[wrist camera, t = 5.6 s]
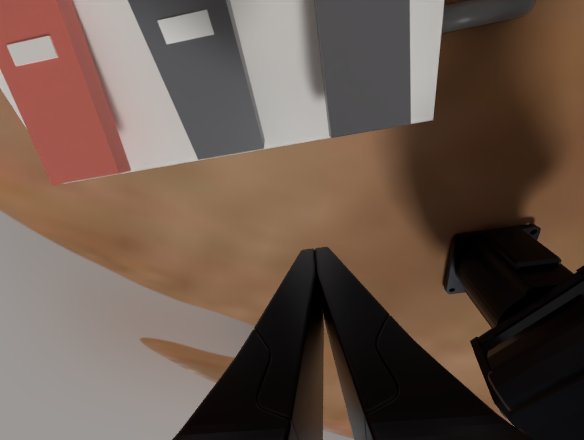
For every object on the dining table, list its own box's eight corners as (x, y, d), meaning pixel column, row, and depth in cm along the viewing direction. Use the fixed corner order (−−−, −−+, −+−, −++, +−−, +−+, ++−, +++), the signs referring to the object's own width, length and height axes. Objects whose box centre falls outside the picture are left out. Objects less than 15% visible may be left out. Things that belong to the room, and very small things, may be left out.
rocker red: (131, 170, 14) (118, 173, 13) (68, 181, 15) (50, 185, 14) (67, -14, 12) (45, -27, 11) (-8, 4, 12) (-36, -7, 11)
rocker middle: (264, 140, 15) (263, 149, 14) (202, 151, 15) (198, 160, 15) (213, -67, 10) (207, -71, 9) (119, -44, 10) (106, -46, 9)
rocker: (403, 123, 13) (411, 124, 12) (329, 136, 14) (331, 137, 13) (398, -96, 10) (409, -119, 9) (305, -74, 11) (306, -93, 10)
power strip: (504, 94, 17) (542, 101, 14) (93, 166, 19) (63, 183, 17) (551, -122, 12) (620, -169, 10) (2, 8, 15) (-60, -2, 12)
